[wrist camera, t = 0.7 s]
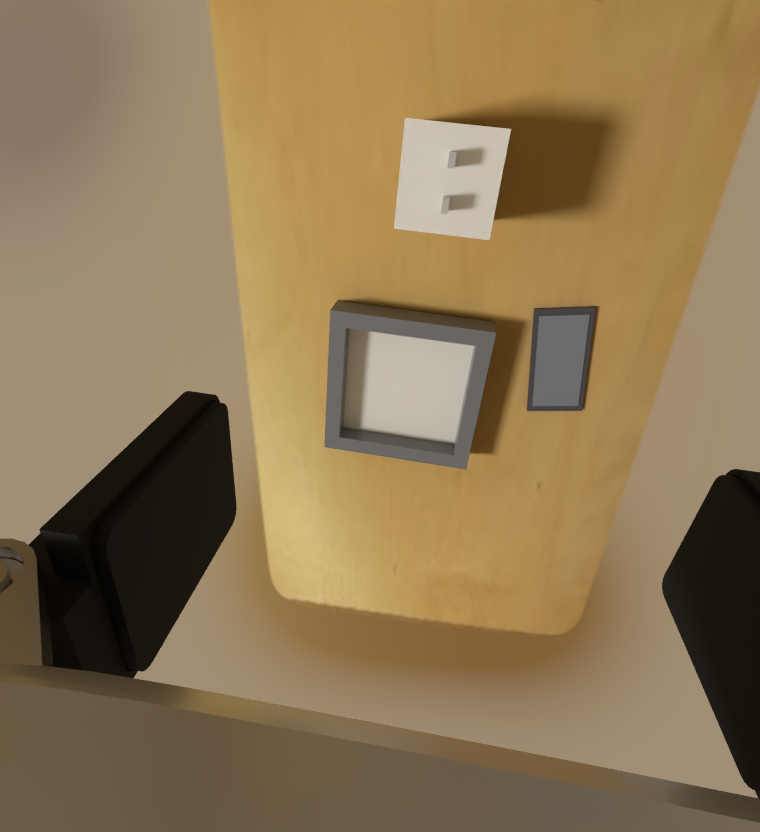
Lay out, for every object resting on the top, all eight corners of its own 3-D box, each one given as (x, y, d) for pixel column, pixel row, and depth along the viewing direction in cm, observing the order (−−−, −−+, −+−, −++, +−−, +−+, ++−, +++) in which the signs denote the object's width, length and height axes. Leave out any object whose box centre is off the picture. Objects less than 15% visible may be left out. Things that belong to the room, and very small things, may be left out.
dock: (337, 300, 32) (330, 310, 30) (494, 321, 31) (496, 332, 29) (330, 432, 37) (324, 446, 35) (465, 453, 36) (466, 469, 34)
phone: (532, 305, 31) (534, 310, 30) (592, 303, 30) (595, 307, 29) (525, 405, 34) (527, 411, 33) (579, 404, 34) (582, 411, 33)
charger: (416, 120, 26) (402, 116, 20) (501, 129, 26) (513, 128, 20) (406, 212, 29) (390, 234, 22) (484, 222, 28) (490, 246, 22)
